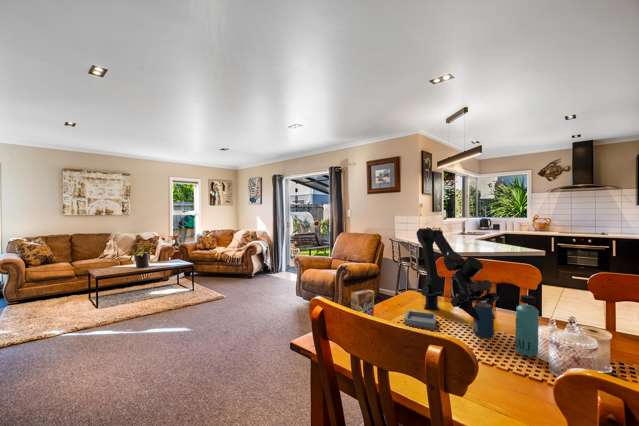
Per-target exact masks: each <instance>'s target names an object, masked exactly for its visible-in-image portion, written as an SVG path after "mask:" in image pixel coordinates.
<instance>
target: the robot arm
mask: <svg viewBox="0 0 639 426" xmlns="http://www.w3.org/2000/svg"><path fill="white" fill-rule="evenodd" d="M416 237H417V241H418V243H419V244H420V246H421V247H422V252H423V258H424V267H425V271H426V277H425V279H424V286H423V287H422V288H421V290H420V293H421V295H422V296H423V297H425V298H424V299H425V302H424V303H425V304H424V309H425V310H430V311H439V308H440V307H439V297H443V294H444V291H445V282H444V278H443V277H440V276H439V273H438V269H437V262H436V261H437V260H436V257H435V256H436V255H435V251H434V244H435V245H436V247H437V249H438V250H439V251H440V252H441V254H442V256H443V264H444V266H445V268H446V270H448V272H449V271H450V272H453V273H452V276H451V280H455V281H456V283H457V284H458V286H459V289H458V291H459V293H455V295H454V296H453V297H452V298H451V299H450V304H451V306H452V307H453V308H458V309H461V310H462V311H464V312H465V313H466V314H468V315H469V316H470V317H471V318H472V319H473V318H474V319H475V320H476V321H479V317H478V315H477V313H476V311H475V309H474V305H473V303H474V302H475V303H476V302H483V303H488V304H491V305H492V307H493V308H494V303H495V302H497V301H498V300H499V299H500V298H501V297H500V295H499V294H498V292H496V291H491V289H492V287H493V286H492V285H493V284H492V283H491V281H490V280H489V279H484V280H482V281H479V282H478V281H474V280H473V278H474V277H476V276H477V275H478V274H479V272H480V271H481V270H482V269H483V268H484V266H483V264H484V263H482V261H480V260H479V259H478V258H475V256H473V255H468V256H467V258H466V259H464V258H463V257H462V255H461V254H459V253H458V252H456V251H455V250H454V249H453V248H452V246H451V245H450V244H449V242H448V241H447V239H446V237H445V236H444V233H443V231H442V230H441V229H433V228H431V227H430V228H427V227H426V228H423V227H422V228H418V229H417V231H416ZM484 291H489V292H486V293H485V292H484ZM484 293H485V294H484ZM483 294H484V295H483ZM495 315H496V314H494V320H495V319H496V317H495Z"/></svg>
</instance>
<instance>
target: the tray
mask: <svg viewBox="0 0 639 426" xmlns="http://www.w3.org/2000/svg"><path fill="white" fill-rule="evenodd" d="M436 315H437V314H436V313H431V312H424V311H416V310H415V311H414V310H408V309H407V310H406V314H405V316H404V320H403V321H404V324H403V325H404V326H408V327H415V328H422V329H428V330H434V331H435V330H436V326H437V325H436V321H437V320H436Z"/></svg>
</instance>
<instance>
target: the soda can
mask: <svg viewBox="0 0 639 426" xmlns="http://www.w3.org/2000/svg"><path fill="white" fill-rule="evenodd" d="M473 307H474V309H475V311H476V313H477V315H478V317H479V321H476V320H475V319H474V318H473V317H472V319H473V320H472V332H473V333H474V335H475V337H478V338H480V339H485V340H490V339H492V338H493V336H494V335H495V333H494V332H495V330H494V329H495V328H494V326H495V319H494V315H495V309H494V306H493V307H492V305H491V304H488V303H483V302H481V301H476V302H475V303H474V305H473Z"/></svg>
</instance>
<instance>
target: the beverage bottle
mask: <svg viewBox="0 0 639 426" xmlns="http://www.w3.org/2000/svg"><path fill="white" fill-rule="evenodd" d="M519 301H520V303H522V304H519V305H517V306H516V308H515V309H516V311H515V312H516V313H515V324H514V325H515V331H514V333H515V337H514V342H515V343H514V347H515V348H514V349H515V351H516V352H517V353H519V354H521V355H524V356H528V357H537V356H538V355H539V321H540V320H539V318H540V315H539V314H540V311H539V309H538V308H536V307H535V306H534V305H535V304H536V298H535V296H532V295H529V294H528V295H527V294H522V295H520V299H519Z"/></svg>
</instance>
